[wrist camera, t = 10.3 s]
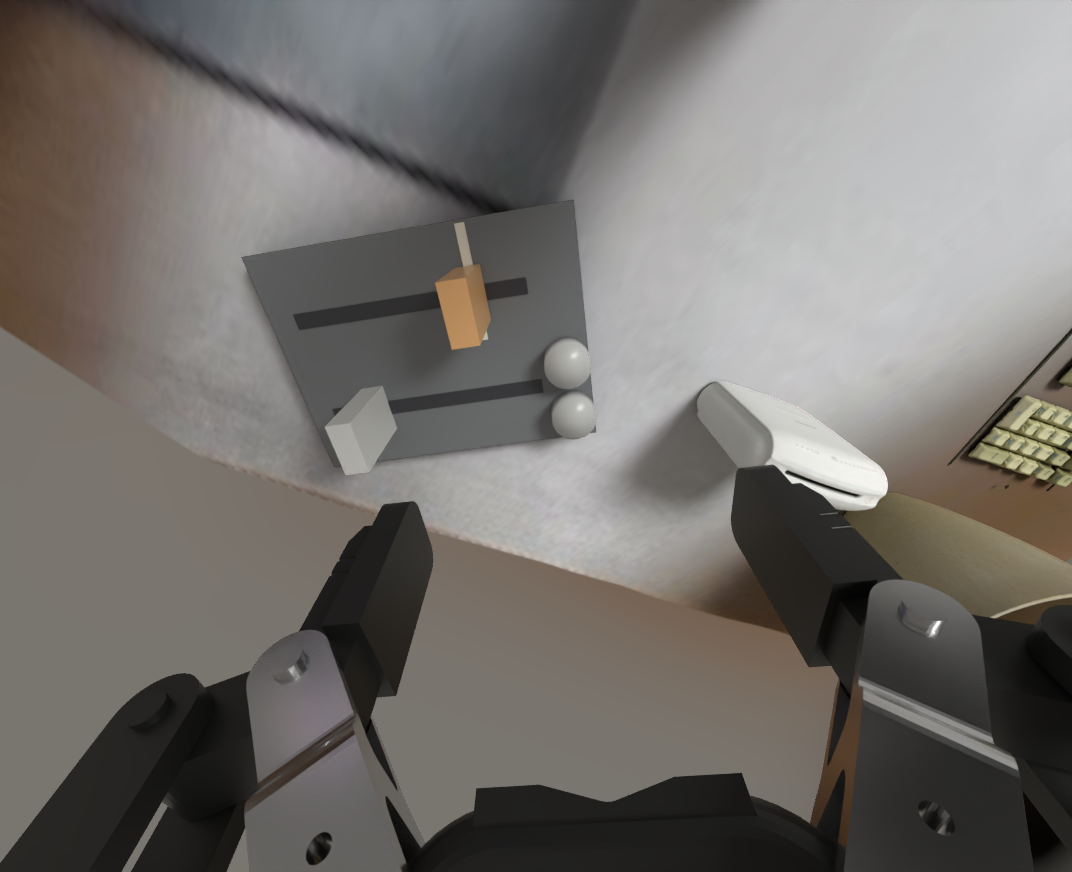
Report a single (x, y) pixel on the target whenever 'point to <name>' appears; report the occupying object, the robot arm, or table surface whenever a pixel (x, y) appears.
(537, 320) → the console
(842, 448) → the photo printer
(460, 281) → the fader cap
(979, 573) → the plant pot
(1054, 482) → the keyboard
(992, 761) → the robot arm
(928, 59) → the table surface
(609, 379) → the table surface
